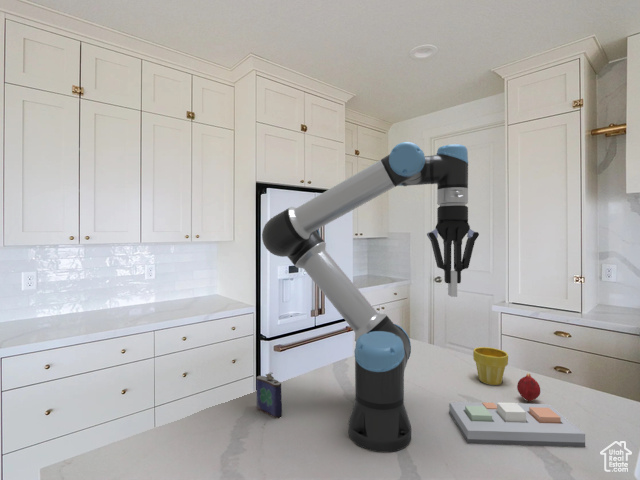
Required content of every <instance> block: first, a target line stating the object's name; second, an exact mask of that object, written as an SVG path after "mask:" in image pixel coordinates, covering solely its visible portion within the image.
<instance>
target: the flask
mask: <svg viewBox="0 0 640 480" xmlns="http://www.w3.org/2000/svg"><path fill="white" fill-rule="evenodd" d="M272 374H273V372H269V373H265V376H264V375H258V376H256V377H255V378H256V380H255V382H256V384H255V385H256V392H255V393H256V401H255V402H256V406H255V407H256V410H257V411H259V412H262V413H263V414H266V415H268V416H271V417H272V418H274V419H281V418H282V416H283V409H282V408H283V405H282V382H280V381H278V379H275V377H274V376H272ZM280 417H281V418H280Z"/></svg>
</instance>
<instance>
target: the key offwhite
mask: <svg viewBox="0 0 640 480" xmlns="http://www.w3.org/2000/svg"><path fill="white" fill-rule="evenodd" d="M496 403H497V414H498V415H499V416H500V417H501V418H502V419H503V421H504V422H520V423H526V412H525V411H524V410H523V409H522V408H521V407H520V406H519V405H518V404H519V403H517V402H496Z"/></svg>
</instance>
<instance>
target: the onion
mask: <svg viewBox="0 0 640 480" xmlns="http://www.w3.org/2000/svg"><path fill="white" fill-rule="evenodd" d="M516 390H517V392H518V393H519V395H520V396H521V398H522V399H524V400H525V401H527V402H532V401H535V400H537V398H538V397H540V395H541V387H540V384H539V383H538V381H537V380H536V379H535V378H533V377H532V375H531V374H530V373H529V372H527V373H526V375H525V376H523V377H522V378H520V379H519V380H518V381H517V384H516Z"/></svg>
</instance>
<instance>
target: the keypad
mask: <svg viewBox="0 0 640 480" xmlns="http://www.w3.org/2000/svg"><path fill="white" fill-rule="evenodd" d="M448 404H449V406H448V407H449V409H448V410H449V411H448V412H449V414H450V416H451V418H452V420H453V421H454V423H455V425H456V426H457V427H458V429H459V431H460V433H461V435H463V438H464V440H465V441H466V442H467V444H471V445H472V444H473V445H474V444H477V445H478V444H480V445H505V446H508V445H510V446H511V445H514V446H540V447H542V446H543V447H544V446H546V447H573V448H574V447H575V448H576V447H579V448H583V447H584V448H585V447H586V433H585V432H584V431H583V430H581V429H580V428H579V427H578V426H576V425H575V424H574V423H572V421H570V419H569V420H568V418H566V417H565V416H564V415H562V414H561V413H560V412H559V411H558V410H557V409H556V408H554V407H553V406H552V405H550V404H549V403H517V404H518V405H519V406H520V407H521V408H522V409H523V410H524V411H525V412H526V423H520V422H504V421H503V419H502V418H501V417H500V416H499V415H498V414H497V402H484V401H483V402H474V401H473V402H469V401H468V402H467V401H466V402H465V401H463V402H462V401H461V402H460V401H449V403H448ZM465 406H484V407H485V408H486V409H487V410H488V411H489V412H490V414H491V415H492V422H483V421H470V419H469V418H468V416H467V415H466V413H465ZM529 407H540V408H550V409H551V410H552V411H553V412H555V413H556V414H557V415H558V416H559V417H561V424H558V423H539V422H538V421H537V420H535V419H534V418H533V417H532V416H531V415H530V414H529Z"/></svg>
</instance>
